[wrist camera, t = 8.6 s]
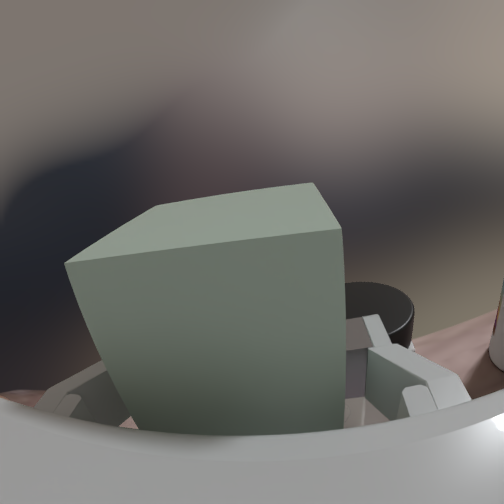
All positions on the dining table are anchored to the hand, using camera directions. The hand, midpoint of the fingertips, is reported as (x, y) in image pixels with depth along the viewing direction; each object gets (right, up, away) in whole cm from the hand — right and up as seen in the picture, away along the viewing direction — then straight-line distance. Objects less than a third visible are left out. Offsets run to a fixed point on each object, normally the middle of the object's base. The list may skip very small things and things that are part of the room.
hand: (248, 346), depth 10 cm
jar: (+9, -12, +16) cm, 22 cm away
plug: (+1, -6, +1) cm, 7 cm away
